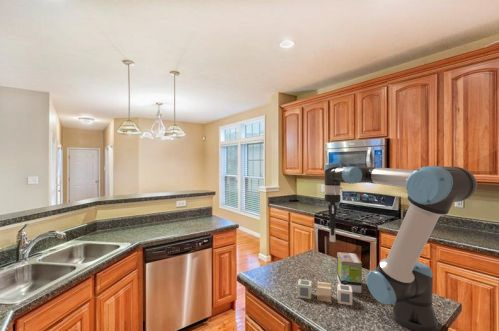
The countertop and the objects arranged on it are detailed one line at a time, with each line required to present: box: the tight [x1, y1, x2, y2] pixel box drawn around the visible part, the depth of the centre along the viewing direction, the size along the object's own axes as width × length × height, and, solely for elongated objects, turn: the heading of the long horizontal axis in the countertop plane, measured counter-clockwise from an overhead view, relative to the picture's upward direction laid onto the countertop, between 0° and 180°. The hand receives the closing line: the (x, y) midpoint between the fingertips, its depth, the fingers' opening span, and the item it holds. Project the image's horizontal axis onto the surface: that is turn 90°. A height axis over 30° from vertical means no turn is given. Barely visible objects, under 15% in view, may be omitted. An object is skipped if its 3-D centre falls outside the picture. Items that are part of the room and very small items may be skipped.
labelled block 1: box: [297, 278, 313, 300], centre depth 120 cm, size 6×6×6 cm
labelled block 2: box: [336, 283, 353, 306], centre depth 115 cm, size 6×6×6 cm
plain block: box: [316, 281, 332, 303], centre depth 118 cm, size 6×6×6 cm
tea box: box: [336, 251, 363, 294], centre depth 131 cm, size 15×10×15 cm, turn 168°
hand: (332, 241), depth 126 cm, fingers closed
